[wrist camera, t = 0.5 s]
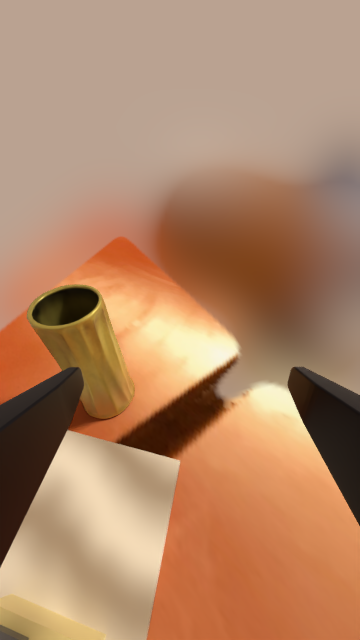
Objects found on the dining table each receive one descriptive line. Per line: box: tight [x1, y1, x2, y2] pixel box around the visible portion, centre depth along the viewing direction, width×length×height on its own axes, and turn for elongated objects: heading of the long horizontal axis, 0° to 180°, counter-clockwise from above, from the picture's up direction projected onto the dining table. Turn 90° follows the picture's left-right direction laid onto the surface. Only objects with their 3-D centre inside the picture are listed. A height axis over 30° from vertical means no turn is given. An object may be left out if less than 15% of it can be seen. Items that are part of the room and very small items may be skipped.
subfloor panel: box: [0, 430, 180, 640], centre depth 16 cm, size 15×24×1 cm, turn 77°
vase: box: [27, 285, 135, 419], centre depth 20 cm, size 6×6×14 cm
